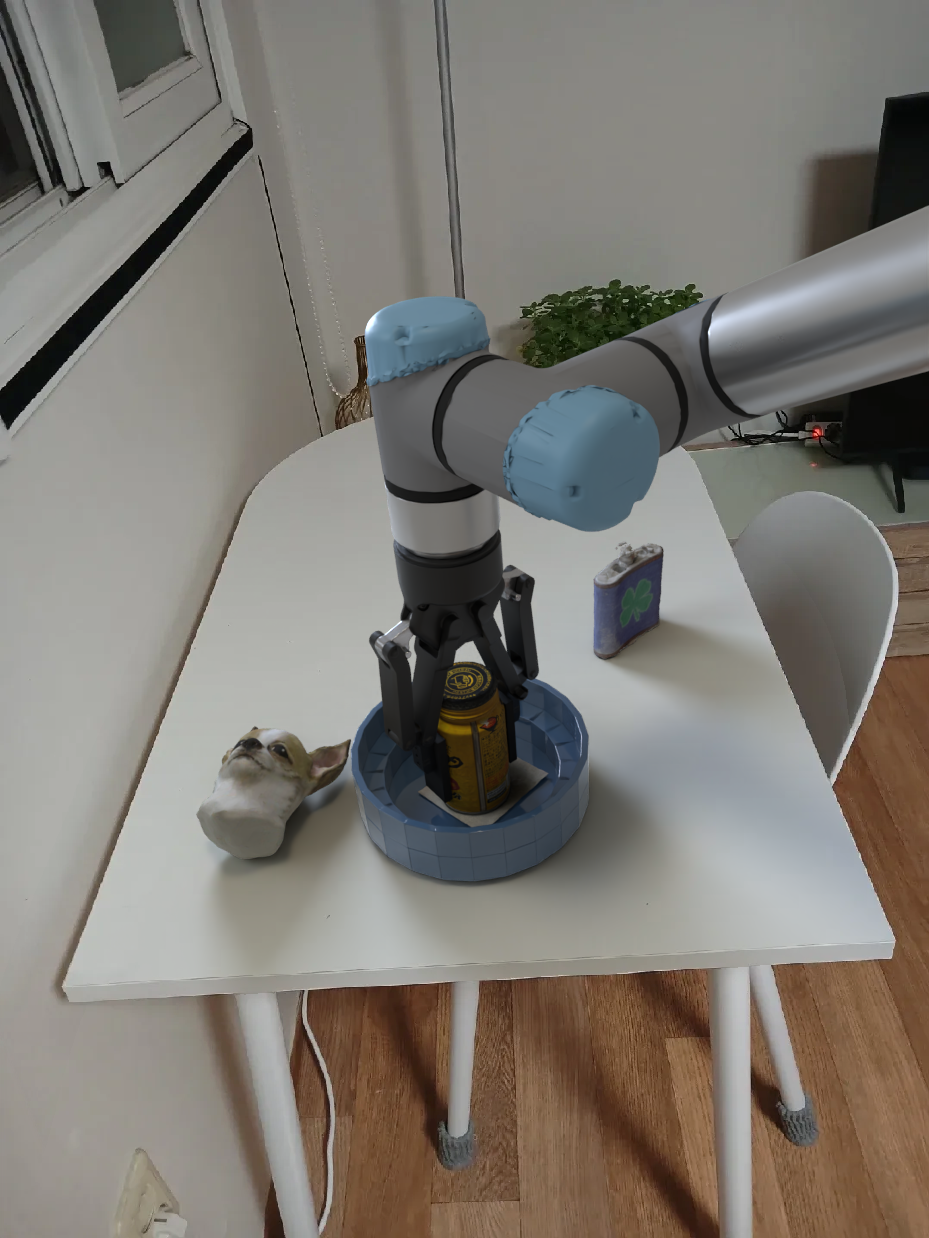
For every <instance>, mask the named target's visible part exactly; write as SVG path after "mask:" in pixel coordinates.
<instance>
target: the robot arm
mask: <svg viewBox="0 0 929 1238" xmlns="http://www.w3.org/2000/svg"><path fill="white" fill-rule="evenodd" d="M364 342H365V352H366V362H367V373H368V375H367V378H366V384H367V387H368V390H369V397H370V402H371V409H372V416H373V421H374V422H373V423H374V427H375V434H376V440H377V446H378V451H379V457H380V464H381V469H382V475H383V478H384V479H383V480H384V488H385V495H386V500H387V501H386V502H387V508H388V509H387V510H388V516H389V524H390V530H391V535H392V537H393V543H392V545H393V553H394V560H395V567H396V574H397V581H398V585H399V588H400V591H401V594H402V597H403V603H402V607H401V612H400V616H399V617H400V618H399V620H400V621H399V622H398V623H397V624H396V625H395V626H393V627H392V628H391V629H390V630H388V631H387V632H386V633H384V632H383V631H381V630H375V631H373V632H372V633H371V634H370V636H369V638H368V644H369V645H370V647H371V649H372V650H373V652H374V654H375V656H376V658H377V661H378V671H379V683H380V694H381V701H382V706H383V716H384V727H385V733H386V735H387V736H388V737H389V738H391V739H392V740H393V741H394V742H395V743H396V744H397V745H398V746H399V747H400V748H401V749H403V750H404V751H405V752H408V751H410V750H412V753H413V760H414V763H415V764H416V765H417V766H418V767H419V768H420V769H421V770H422V771H423V772H424V775H425V782H426V786H427V787H428V788H429V789H431V790H432V791H433V792H434V793H435V794H436V795H437V796H438V797H439V798H440V799H441V800H442V801H443V802H444V803H447V802H449V801H450V800H452V799H453V796H452V788H451V780H450V773H449V765H448V757H447V749H446V741H445V739H444V738H443V737H442V736H441V735H439V734H438V733H437V729H438V724H439V718H440V713H441V707H442V701H443V696H444V690H445V685H446V679H447V673H448V669H449V668H451V667H453V665H454V663H455V660H456V654H457V651H458V650H459V649H460V648H461V647H463V646H464V645H465V644H468V643H471V642H473V644H474V646H475V648H476V650H477V652H478V654H479V657H480V658H481V661H482V662H483V665H484V666H487V667H488V668H489V669H491V670H492V672H493V674H494V675H495V677H496V678H497V689H498V693H499V697H500V698H501V700H502V702H503V704H504V709H505V722H506V734H507V746H508V758H509V763H512V762H513V761H515V760H517V749H516V734H515V722H516V721H518V720H519V718H520V701H522V700H524V699H525V698H526V697H527V695H528V692H529V691H528V689H527V688H526V687H524V686H523V685H522V684H523V683H524V682H525V681H526V680H527V679H529V680H534V679H537V677H538V676H539V674H540V667H539V659H538V649H537V641H536V633H535V624H534V617H533V607H532V600H533V596H534V591H535V590H534V589H535V584H536V580H535V578H534V577H533V576H531V575H530V574H528V573H526V572H525V571H523V570H521V569H519V568H518V567H516V566H515V565H513V564H509V565H506V566H505V567H504V559H503V548H502V547H503V545H502V544H503V543H502V533H501V530H500V527H501V526H500V525H501V510H500V498H502V499H503V500H506V501H508V502H510V503H511V504H513V505H516V506H518V507H519V508H521V509H523V510H524V511H525V512H527V513H528V514H530V515H532V516H534V517H536V518H538V519H542V518H543V520H544V519H545V520H547V521H554V522H558V523H560V524H562V525H565V526H567V527H570V528H573V529H575V530H578V531H580V532H587V533H596V532H602V531H605V530H609V529H611V528H613V527H616V526H617V525H619V524H621V523H622V522H624V521H625V520H626V519H628V518H629V517H630V515H631V513H632V510H633V508H634V504H635V503H636V502H640V501H642V500H644V498H645V497H646V495H647V494H648V492H649V490H650V488H651V487H652V484H653V482H654V478H655V476H656V473H657V470H658V465H659V462H660V461H659V460H660V458H662V457H663V456H665V455H667V454H669V453H670V452H672V451H673V450H674V449H677V448H679V447H680V446H682V445H685V444H687V443H689V442H690V441H693V440H695V439H697V438H699V437H701V436H703V435H705V434H708V433H711V432H713V431H716V430H720V429H722V428H727V427H730V426H734V425H738V424H742V423H745V422H749V421H753V420H755V419H758V418H761V417H764V416H767V415H770V414H773V413H776V412H780V411H784V410H788V409H792V408H795V407H799V406H804V405H806V404H810V403H814V402H817V401H822V400H825V399H829V398H833V397H836V396H840V395H845V394H848V393H852V392H855V391H859V390H863V389H867V388H871V387H874V386H877V385H881V384H885V383H888V382H892V381H896V380H900V379H903V378H909V377H911V376H916V375H919V374H922V373H926V372H929V205H926V206H924V207H922V208H919V209H918V210H915V211H913V212H910V213H908V214H906V215H903V216H901V217H899V218H896V219H894V220H892V221H890V222H886V223H885V224H882V225H880V226H878V227H875V228H873V229H871V230H869V231H866V232H863V233H861V234H859V235H856V236H854V237H851V238H850V239H847V240H845V241H842V242H841V243H838V244H836V245H833V246H830V247H828V248H826V249H824V250H821V251H819V252H817V253H815V254H812V255H810V256H808V257H807V256H806V257H805V258H803V259H800V260H798V261H795V262H794V263H791V264H789V265H786V266H783V267H782V268H778V269H777V270H775V271H773V272H770V273H768V274H765V275H763V276H761V277H759V278H756V279H754V280H752V281H749V282H747V283H744V284H742V285H740V286H738V287H735V288H734V289H731V290H730V291H728V292H726V293H722V294H719V295H717V296H715V297H712V298H706V299H704V300H701V301H699V302H696V303H693V304H692V305H690V306H688V307H685V308H682V309H681V310H679V311H677V312H675V313H674V314H672V315H669V316H666V317H665V318H663V319H660V320H658V321H656V322H653V323H650V324H649V325H646V326H644V327H642V328H640V329H638V330H635V331H633V332H631V333H628V334H627V335H625V336H622V337H619V338H616V339H613V340H612V341H608V342H607V343H605V344H602V345H600V346H598V347H595V348H592V349H590V350H588V351H585V352H583V353H581V354H579V355H576V356H574V357H571V358H568V359H567V360H563V361H561V362H559V363H556V364H554V365H552V366H549V367H544V368H543V367H535V366H531V365H528V364H525V363H523V362H518V361H515V360H512V359H508V358H506V357H503V356H502V355H499V354H496V353H493V352H490V344H491V337H490V335H489V332H488V327H487V321H486V316H485V314H484V313H483V311H482V310H481V309H480V308H479V307H478V305H477V304H476V303H475V302H473V301H471V300H468V299H465V298H462V297H455V296H446V295H445V296H441V295H437V296H436V295H435V296H421V297H415V298H409V299H406V300H402V301H397V302H396V303H392V304H390V305H387V306H385V307H383V308H381V309H380V310H378V311H377V312H375V314H374V315H372V317H371V318H370V319H369V320H368V322H367V324H366V327H365V330H364ZM498 605H500V613H501V619H502V626H503V634H504V640H505V644H504V643H503V640H502V637H503V634H502V632H501V630H500V628H499V626H498V623H497V620H496V619H495V612H496V609H497V607H498ZM414 636H415V637H414ZM412 637H414V642H413V650H414V654H415V656H416V657H415V663H414V670H413V677H412V669H411V665H410V662H409V660H408V659H411V657H412V651H410V641H411V640H412Z"/></svg>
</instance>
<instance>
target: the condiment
mask: <svg viewBox="0 0 929 1238" xmlns="http://www.w3.org/2000/svg"><path fill="white" fill-rule="evenodd" d="M437 733H438V734H439V735H441V736H442V737H443V738H444V739H445V741H446V749H447V757H448V765H449V773H450V780H451V788H452V796H453V799H452V800H450V801H449V802H447V803H444V802H443V801H442V800H441V799H440V798H439V797H438V796H437V795H436V794H435V793H434V792H433V791H432V790H431V789H429V788H428V787H427V786H426V787H425V788H423V789H422V790H420V791H418V792H419V793H420V794H422V795H423V796H425V797H426V798H428V799H429V800H431V801H432V802H433V803H435V804H436V805H437V806H439V807H441V808H442V809H443V810H445V811H446V812H448V813H450V814H451V815H453V816H454V817H456V818H457V819H459V820H460V821H462V822H464V823H465V824H468V825H469V826H471V827H476V826H482V825H489V824H493V823H494V822H495V821H496V820H497V819H498V818H499V817H501V816H502V815H503V814H505V813H506V812H507V811H508V810H509V809H510V808H511V807H512V806H513V805H514V804H515V803H516V802H518V801H519V799H520V798H521V797H522V796H523V795H525V794H526V793H527V792H528V791H530V790H531V789H532V788H533V787H534V786H535V785H537V783H538V782H539V781H540V780H541V779H543V778H544V777H545V776H546V775H547V774H548V773H547V772H545V771H543V770H540V769H538V768H537V767H535V766H533V765H531V764H529V763H527V762H525V761H523V760H521V759H520V758H518V757H517V760H515V761H513V762H512V763H509V758H508V746H507V734H506V722H505V709H504V704H503V702H502V700H501V698H500V697H499V693H498V689H497V678H496V677H495V675H494V674H493V672H492V670H491V669H489V668H488V667H487V666H485V664H484V663H479V662H476V661H454V665H453V667H451V668H449V669H448V673H447V679H446V685H445V690H444V696H443V701H442V707H441V713H440V718H439V724H438V729H437Z"/></svg>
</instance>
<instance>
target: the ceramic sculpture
mask: <svg viewBox="0 0 929 1238" xmlns="http://www.w3.org/2000/svg"><path fill="white" fill-rule="evenodd" d="M351 742H352V738H349V739H347V740H345V741H342V742H341V743H338V744H335V745H328V746H327V745H324V746H320V747H317V748H315V749H314V750H313V751H310V752H307V749H306V748H305V746H304V744H303V743H302V741H301V740H300V739H299V738H298V736H297V735H295V734H294V733H292V732H289V731H287V730H285V729H279V728H270V727H269V728H267V727H266V728H259V727H258V726H256V725H254V726H253V727H252V728H251V730H250V731H249V732H247V733H246V734H243V736H241V737H240V738H239V740H238V742H236V744H235V745H234V746H233V747H230V748H229V749H227V750H226V753H225V754H224V755H223V756H222V759H221V766H220V769H219V772H218V773H217V776H216V779H215V781H214V786H213V790H212V794H211V795H210V796H209V797H207V798H206V799H204V800H203V801H202V802H201V804H200V806H199V808H198V811H196V814H195V815H196V818H197V819H198V822H199V824H200V827H201V830H202V832H203V834H204V835H205V836H206V838H207V839H208V840H209V841H210V842H212V843H213V844H214V845H215V846H216V847H217V848H219V849H221V850H222V851H225V852H226V853H228V854H230V855H231V856H234V857H235V858H237V859H239V860H251V859H255V858H265V857H269V856H272V855H274V854H275V853H276V852H277V851H278V849H279V848H280V847H281V845H282V844H283V841H284V838H285V830H286V823H287V821H288V820H289V819H290V817H291V816H292V815H293V813H294V812H295V811H296V810H297V809H298V807H299V806H300V805H301V804H302V802H303V800H304V799H306V797H309V796H312V795H313V794H315V793H316V792H318V791H321V790H322V789H324V788H326V787H328V786H329V785H331V784H332V783H334V782H335V781H337V779H338V778H339V777H340V775H341V774H342V772H343V771H344V769H345V767H346V765H347V763H348V759H349V755H350V750H351V745H352V743H351Z"/></svg>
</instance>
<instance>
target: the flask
mask: <svg viewBox="0 0 929 1238" xmlns="http://www.w3.org/2000/svg"><path fill="white" fill-rule="evenodd" d="M618 547H620V551H619V552H620V553H619V554H618V555H617V558H615V559H613V560H612V561H611V562H610V563H608V564H607V565H606V566H605V567H604V568H603V569H601V570H600V571H599V572H598V573H597V574H596V575H595V577H594V578H593V652H594V655H595V656H596V657H599V658H602V659H603V660H606V659H607V660H608V658H612V657H616V656H617V655H619V654H621V651H622V650H624V649H625V648H627V647H630V646H631V645H634V643H636V642H637V639H638V637H643V636H644V635H645V633H647V632H651V631H652V629H653V628H654V629H655V628H656V627H658V626H660V604H661V596H662V581H663V580H662V579H663V568H664V555H665V554H664V551H665V550H664V547H663V546H661V545H658V544H657V543H656V544H655V543H652V542H651V543H649V542H648V543H645V544H641V545H640V546H639V547H637V548H634V549H633V546H632V545H631V543H628V542H627V541H622V542H618V543H617V546H616V547H614V549H615V550H618Z"/></svg>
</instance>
